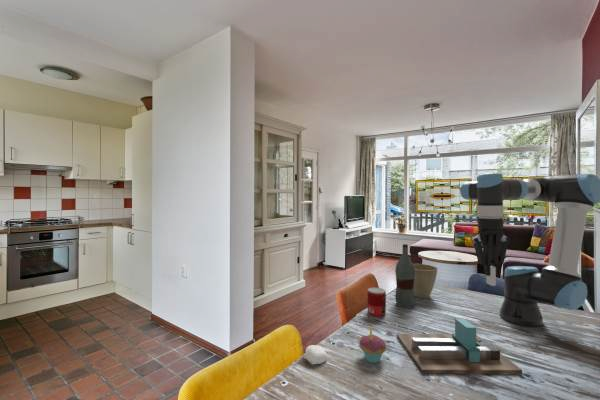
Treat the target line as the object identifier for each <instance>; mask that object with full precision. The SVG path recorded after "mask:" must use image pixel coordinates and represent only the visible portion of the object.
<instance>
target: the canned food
mask: <svg viewBox="0 0 600 400" xmlns="http://www.w3.org/2000/svg"><path fill="white" fill-rule="evenodd" d="M386 301H387V295H386V290H385V289H384V288H380V287H369V288H368V289H367V313H368V315H370V316H372V317H375V318H376V317H377V318H378V317H379V318H382V317H384V316H386V313H387V312H386V311H387V307H386V305H387V304H386V303H387V302H386Z"/></svg>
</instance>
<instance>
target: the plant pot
mask: <svg viewBox="0 0 600 400" xmlns="http://www.w3.org/2000/svg"><path fill="white" fill-rule="evenodd" d="M413 264H414V268H415V277H414V294H415V298H416V297H417V298H420V299H429V298H430V296H431V295H432V294H431V293H432V291H433V289H434V286H435V282H436V279H437V275H438V267H437V266H434V265H431V264H423V263H413Z"/></svg>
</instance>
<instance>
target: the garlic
mask: <svg viewBox="0 0 600 400" xmlns="http://www.w3.org/2000/svg"><path fill="white" fill-rule="evenodd" d="M303 358H304V359H305V360H307V361H308V362H309V363H310V365H320V364H323V363H325V362H326V361H327V360H328V354H327V352H326V351H325V350H324V349H323V347H321V346H320V345H314V344H310V345H307V347H306V348H305V355H304V357H303Z"/></svg>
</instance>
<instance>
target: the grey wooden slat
mask: <svg viewBox="0 0 600 400" xmlns="http://www.w3.org/2000/svg"><path fill="white" fill-rule="evenodd" d="M419 346H463V345H462V344H461V343H460V342H459V341H458V340H457V339H451V338H412V347H413V349H414V350H419Z"/></svg>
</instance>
